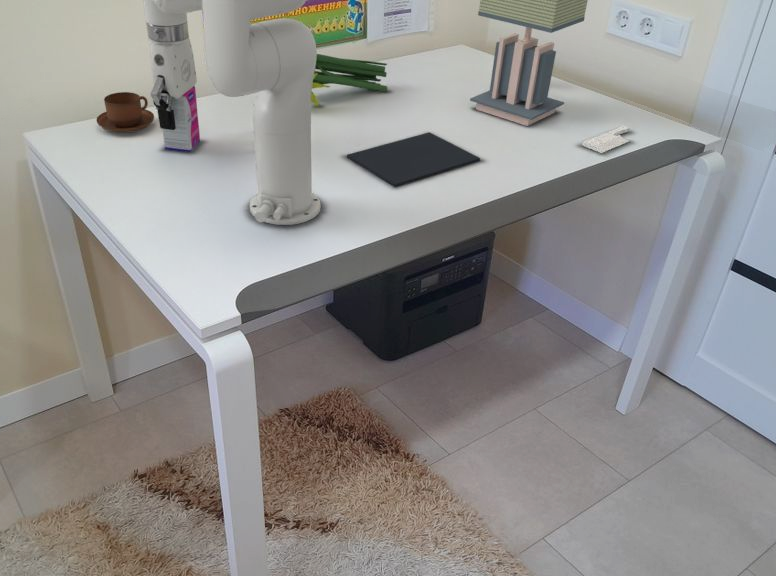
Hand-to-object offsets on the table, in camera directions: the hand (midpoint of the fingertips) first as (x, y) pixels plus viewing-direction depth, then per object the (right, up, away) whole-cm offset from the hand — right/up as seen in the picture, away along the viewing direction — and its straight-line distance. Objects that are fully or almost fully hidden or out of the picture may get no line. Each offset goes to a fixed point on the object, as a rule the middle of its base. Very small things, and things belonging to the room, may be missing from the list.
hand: (178, 119), depth 147 cm
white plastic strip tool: (+92, -1, +10) cm, 92 cm away
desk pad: (+48, -8, +1) cm, 48 cm away
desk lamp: (+74, +9, +24) cm, 78 cm away
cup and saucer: (-14, +2, +11) cm, 18 cm away
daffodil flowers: (+29, +14, +28) cm, 42 cm away
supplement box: (0, -5, +3) cm, 6 cm away
